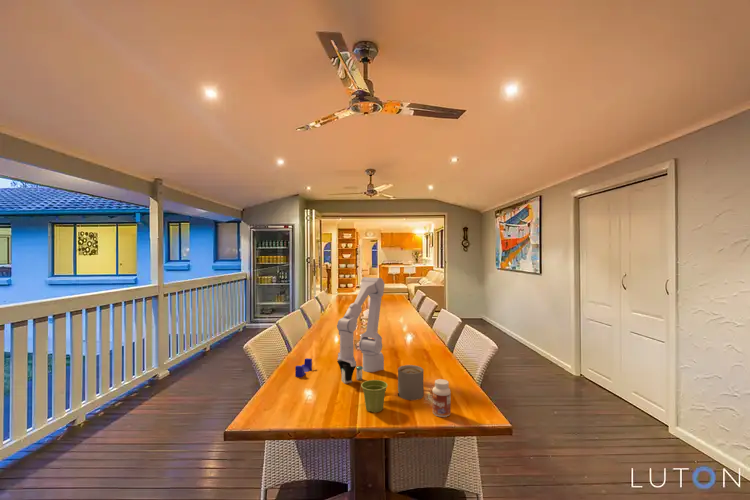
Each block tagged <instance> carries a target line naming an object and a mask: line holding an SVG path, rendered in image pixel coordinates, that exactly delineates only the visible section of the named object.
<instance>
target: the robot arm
mask: <svg viewBox="0 0 750 500" xmlns="http://www.w3.org/2000/svg"><path fill="white" fill-rule="evenodd" d="M359 288H360V289H359V291H358V293H357V295H356V298H355V300H354V302H352V303H350V304H349V306H348V307H347V310H346V312H345V314H344V315H343V317H342V318H339V319H338V321H337V325H336V328H337V330H338V335H339V352H337V364H338V366H339V369H340V370H339V371H340V374H341V375H342V368H343V367H344V371H345V377H346V381H350V380H351V379H352V380H353V375H354V371H355V369H356V367H357V361H356V359H355V355H354V352H355V351H354V347H355V346H354V338H355V337H354V333H355V331H356V330H357V324H358V319H359V317H360V315H361V313H362V311H363V309H362V306H363V304H364V303H365V301H366V300H367V298H368V297H369V298H370V300H369V307H368V314H367V323H366V331H365V332H363V333H362V334H361V336H360V339H359V342H358V348H359V350H360V351H361V354H362V367H363V369H362V372H367V373H375V372H379V371H384V369H385V367H384V366H385V363H384V361H385V358H384V354H383V352H382V349H383V343H382V342H383V338H382V336H381V335H380V333H378V330H379V329H378V328H379V322H380V313H381V304H382V303H381V302H382V297H383V296H384V290H385V282H384V279H383V278H382V277H367V276H364V277H362V279H360V282H359Z"/></svg>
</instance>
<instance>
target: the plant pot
mask: <svg viewBox="0 0 750 500" xmlns="http://www.w3.org/2000/svg"><path fill="white" fill-rule="evenodd" d="M360 386H361V388H362V391H363V396H364V397H363V398H364V403H365V404H364V405H365V410H366V411H367V412H372V413H380V412H382V410H384V405H385V403H384V402H385V397H386V391H387V388H388V383H387V382H385V381H384V380H380V379H370V380H365V381H363V382H362V383H361V385H360Z"/></svg>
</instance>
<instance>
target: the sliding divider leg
mask: <svg viewBox="0 0 750 500" xmlns="http://www.w3.org/2000/svg"><path fill="white" fill-rule="evenodd" d="M341 382H342V383H343V384H345V385H346V384H352V383H353V378H352V379H351V380H350V381H346V377H345V371H344V367H343V368H342V374H341Z"/></svg>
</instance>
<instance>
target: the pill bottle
mask: <svg viewBox="0 0 750 500" xmlns="http://www.w3.org/2000/svg"><path fill="white" fill-rule="evenodd" d="M449 385H450V384H449V381H448V380H447V379H442V378H439V379H435V380H434V386H433V388H432V414H434V416H436V417H439V418H447V416H448V417H449V416H450V415H451V407H452V406H451V404H452V402H451V395H452V394H451V389H450V387H449Z"/></svg>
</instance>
